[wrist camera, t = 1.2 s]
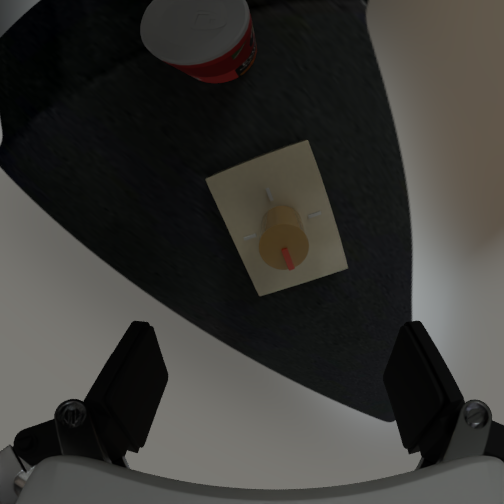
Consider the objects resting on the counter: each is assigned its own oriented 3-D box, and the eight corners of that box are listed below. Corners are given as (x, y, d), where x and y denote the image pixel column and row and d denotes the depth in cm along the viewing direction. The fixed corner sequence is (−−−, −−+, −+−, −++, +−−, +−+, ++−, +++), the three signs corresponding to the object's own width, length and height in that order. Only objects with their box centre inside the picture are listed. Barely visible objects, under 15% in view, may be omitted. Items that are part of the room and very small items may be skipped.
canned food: (257, 83, 25) (250, 58, 15) (182, 88, 25) (137, 72, 15) (256, 20, 21) (248, -28, 12) (182, 27, 22) (142, -10, 12)
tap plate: (208, 175, 29) (204, 179, 28) (305, 138, 27) (308, 140, 25) (259, 287, 35) (259, 297, 33) (344, 260, 33) (348, 269, 31)
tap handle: (254, 214, 29) (250, 235, 24) (294, 199, 28) (300, 217, 23) (269, 250, 31) (269, 277, 25) (308, 237, 30) (315, 262, 24)
